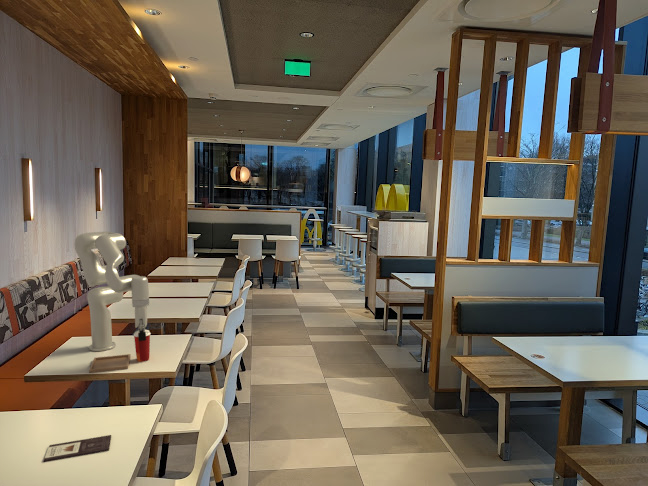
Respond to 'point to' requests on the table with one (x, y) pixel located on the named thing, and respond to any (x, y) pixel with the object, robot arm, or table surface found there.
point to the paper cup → (142, 347)
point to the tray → (110, 363)
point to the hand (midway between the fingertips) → (142, 337)
